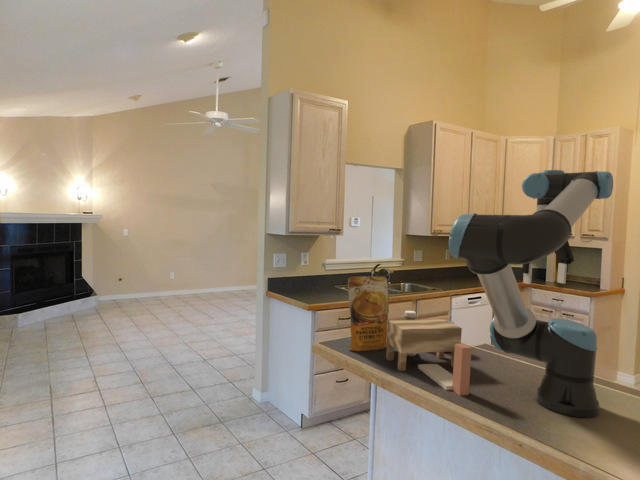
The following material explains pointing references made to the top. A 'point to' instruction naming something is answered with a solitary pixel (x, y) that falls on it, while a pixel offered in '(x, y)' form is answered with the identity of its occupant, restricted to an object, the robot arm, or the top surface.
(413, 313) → the sprinkles bottle
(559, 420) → the top surface
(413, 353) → the steel puck
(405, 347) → the small wooden stool
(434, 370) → the plank with pink post
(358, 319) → the pancake mix bag
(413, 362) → the top surface
